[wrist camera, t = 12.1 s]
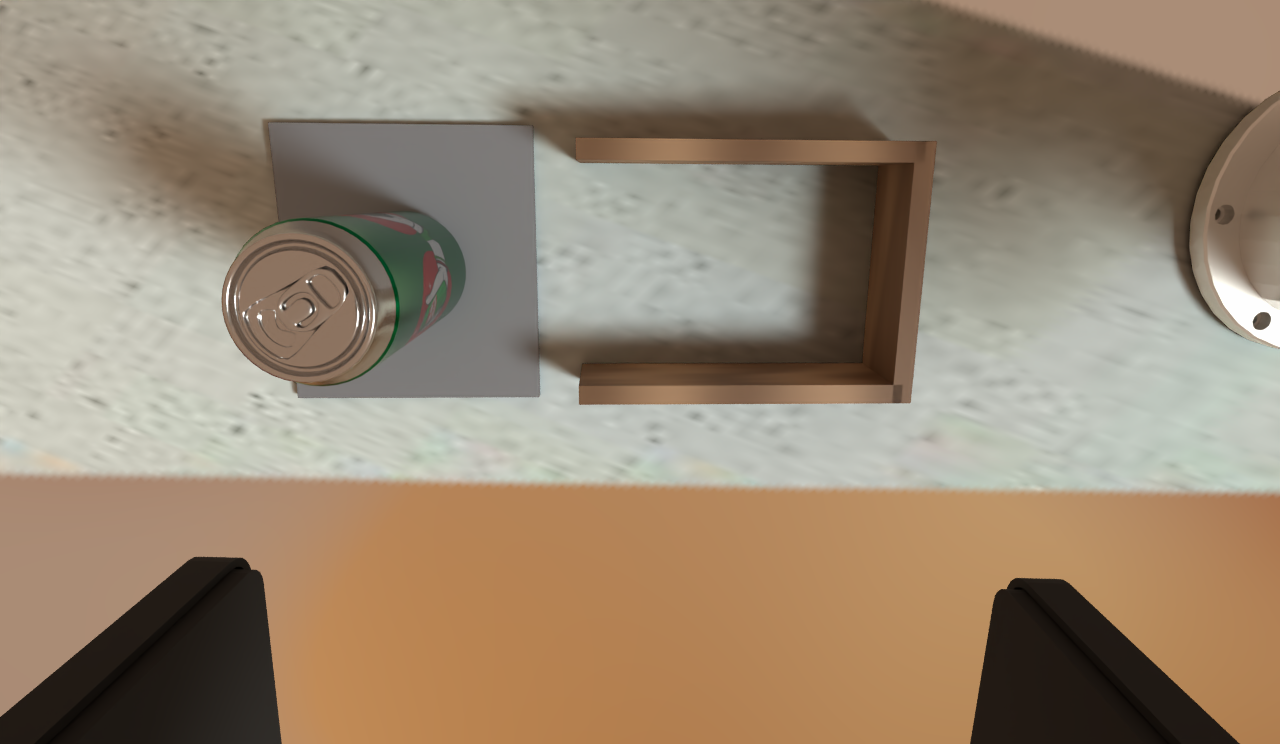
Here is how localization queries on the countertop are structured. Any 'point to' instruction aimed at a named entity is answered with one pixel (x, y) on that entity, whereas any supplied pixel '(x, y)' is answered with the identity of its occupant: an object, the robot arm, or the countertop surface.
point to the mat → (468, 208)
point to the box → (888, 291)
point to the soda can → (339, 292)
